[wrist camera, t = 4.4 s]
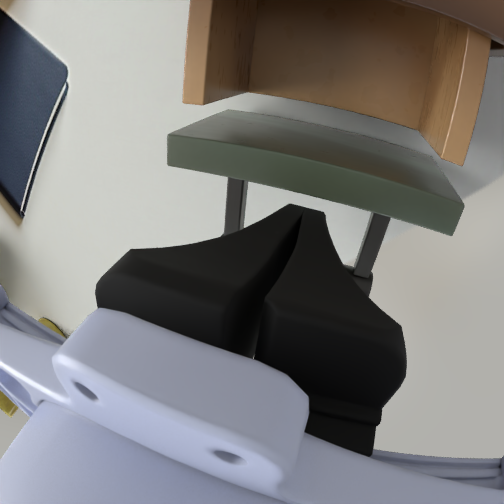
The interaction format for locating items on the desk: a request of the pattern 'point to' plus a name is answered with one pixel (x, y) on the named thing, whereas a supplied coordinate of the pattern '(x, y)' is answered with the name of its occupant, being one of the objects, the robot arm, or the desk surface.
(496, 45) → the cabinet
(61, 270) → the desk surface
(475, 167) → the desk surface
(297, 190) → the drawer
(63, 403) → the robot arm
